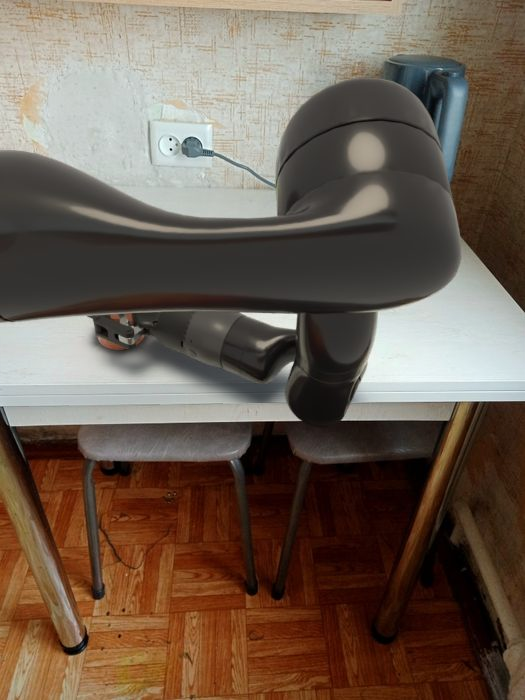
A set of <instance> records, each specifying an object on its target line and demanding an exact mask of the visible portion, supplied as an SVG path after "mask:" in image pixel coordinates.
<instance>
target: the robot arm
mask: <svg viewBox="0 0 525 700" xmlns="http://www.w3.org/2000/svg"><path fill="white" fill-rule="evenodd" d="M274 170H275V173H274V174H275V175H274V184H275V202H276V215H274V216H264V217H263V216H262V217H215V216H214V217H213V216H212V217H210V216H195V215H188V214H182V213H178V212H173V211H168V210H165V209H163V208H161V207H157V206H155V205H152V204H150V203H147V202H145V201H142V200H140V199H138V198H136V197H134V196H132V195H130V194H128V193H126V192H125V191H122V190H120V189H119V188H116V187H114V186H113V185H111V184H109V183H106V182H105V181H103V180H101V179H99V178H97V177H95V176H93V175H91V174H89V173H88V172H85V171H83V170H81V169H79V168H77V167H74V166H72V165H70V164H67V163H66V162H64V161H60V160H58V159H55V158H53V157H50V156H47V155H44V154H40V153H37V152H31V151H25V150H17V149H16V150H15V149H0V324H7V323H24V322H32V321H33V322H34V321H42V320H43V321H44V320H50V319H63V318H72V317H87V318H89V319H92V322H93V327H94V333H95V336H96V337H98V336H99V337H101V338H103V339H106V340H108V341H110V342H113V343H115V344H117V345H120V346H122V347H124V348H127V349H126V350H134V349H136V348H137V345H136V340H137V339H139V338H140V337H141V336H142V335H144V337H153V338H155V339H156V340H157V341H159V343H160V344H161V345H162V346H163V347H166V348H168V349H171V350H173V351H175V352H177V353H180V354H182V355H185V356H186V357H188V358H191V359H193V360H195V361H198V362H201V363H202V364H204V365H208V366H211V367H215V368H218V369H222V370H225V371H227V372H229V373H231V374H233V375H236V376H238V377H240V378H243V379H246V380H248V381H250V382H253V383H255V384H258V385H266V384H268V383H271V381H273V380H274V379H275V378H276V377H277V376H278V375H279V374H280V373H281V371H282V370H284V368H285V367H286V366H288V365H289V364H291V363H292V366H291V369H290V371H289V374H288V378H287V381H286V384H285V389H284V398H285V402H286V404H287V406H288V408H289V410H290V411H291V413H292V414H293V415H294V416H295V417H296V418H297V419H298V420H299V421H301V422H303V423H304V424H306V425H309V426H311V427H314V428H315V427H317V428H329V427H332V426H335V425H337V424H339V423H341V421H342V420H343V419H344V417H345V416H346V414H347V412H348V410H349V409H350V406H351V404H352V401H353V400H354V397H355V395H356V393H357V391H358V388H359V386H360V384H361V382H362V380H363V378H364V376H365V374H366V372H367V368H368V366H369V365H368V364H369V358H370V355H371V353H372V351H373V347H374V344H375V342H376V341H375V340H376V337H377V336H376V335H377V328H378V318H379V312H383V311H384V312H385V311H388V310H394V309H399V308H404V307H407V306H411V305H413V304H416V303H419V302H421V301H424V300H426V299H429V298H431V297H433V296H435V295H436V294H438V293H439V292H441V291H442V290H443V289H445V288H446V287H448V285H449V284H450V283H451V282H452V281H453V280H454V278H455V277H456V276H457V274H458V272H459V269H460V266H461V262H462V241H461V240H462V239H461V233H460V226H459V221H458V220H459V219H458V216H457V211H456V206H455V203H454V198H453V193H452V189H451V185H450V181H449V176H448V171H447V167H446V161H445V157H444V153H443V147H442V143H441V140H440V137H439V134H438V131H437V128H436V127H435V123H434V121H433V119H432V116H431V114H430V112H429V111H428V110H427V108H426V106H425V105H424V103H423V102H422V100H421V99H420V98H419V97H418V96H417V95H416V94H414V93H413V92H412V91H411V90H410V89H409V88H407V87H405V86H404V85H402V84H399V83H397V82H395V81H393V80H388V79H385V78H380V77H356V78H350V79H346V80H342V81H340V82H336V83H334V84H331V85H328V86H327V87H325V88H323V89H322V90H320V91H318V92H316V93H315V94H313V95H312V96H311V97H309V98H308V99H307V100H306V101H305V102H303V103H302V104H301V105H300V106H299V107H298V109H296V111H295V112H294V114H293V115H292V116H291V117H290V119H289V121H288V123H287V125H286V127H285V129H284V131H283V132H282V135H281V138H280V141H279V145H278V149H277V153H276V162H275V169H274ZM126 313H131V314H132V319H133V321H129V320H128V319H127V314H126ZM243 313H245V314H243ZM247 313H248V314H249V313H250V314H253V313H255V314H288V315H296V319H295V320H296V322H295V328H288V327H280V326H275V325H272V324H269V323H266V322H263V321H261V320H258V319H256V318H253V317H250V316H248V315H246V314H247ZM110 315H119V319H111V316H110Z"/></svg>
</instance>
